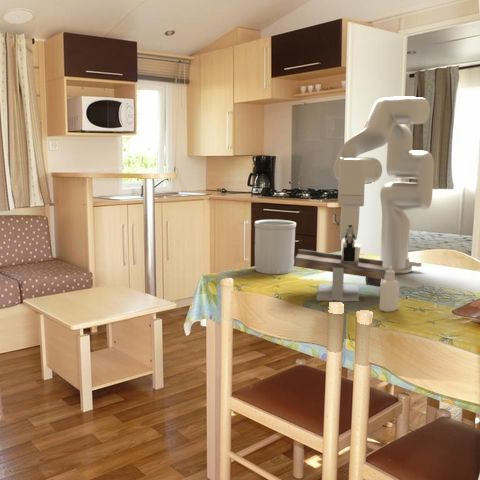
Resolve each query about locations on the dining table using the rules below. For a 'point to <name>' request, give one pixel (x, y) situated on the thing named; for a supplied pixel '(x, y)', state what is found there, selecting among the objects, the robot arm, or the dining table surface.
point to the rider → (357, 252)
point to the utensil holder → (274, 246)
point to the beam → (341, 265)
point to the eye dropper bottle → (389, 292)
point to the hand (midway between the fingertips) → (349, 258)
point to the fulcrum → (337, 289)
